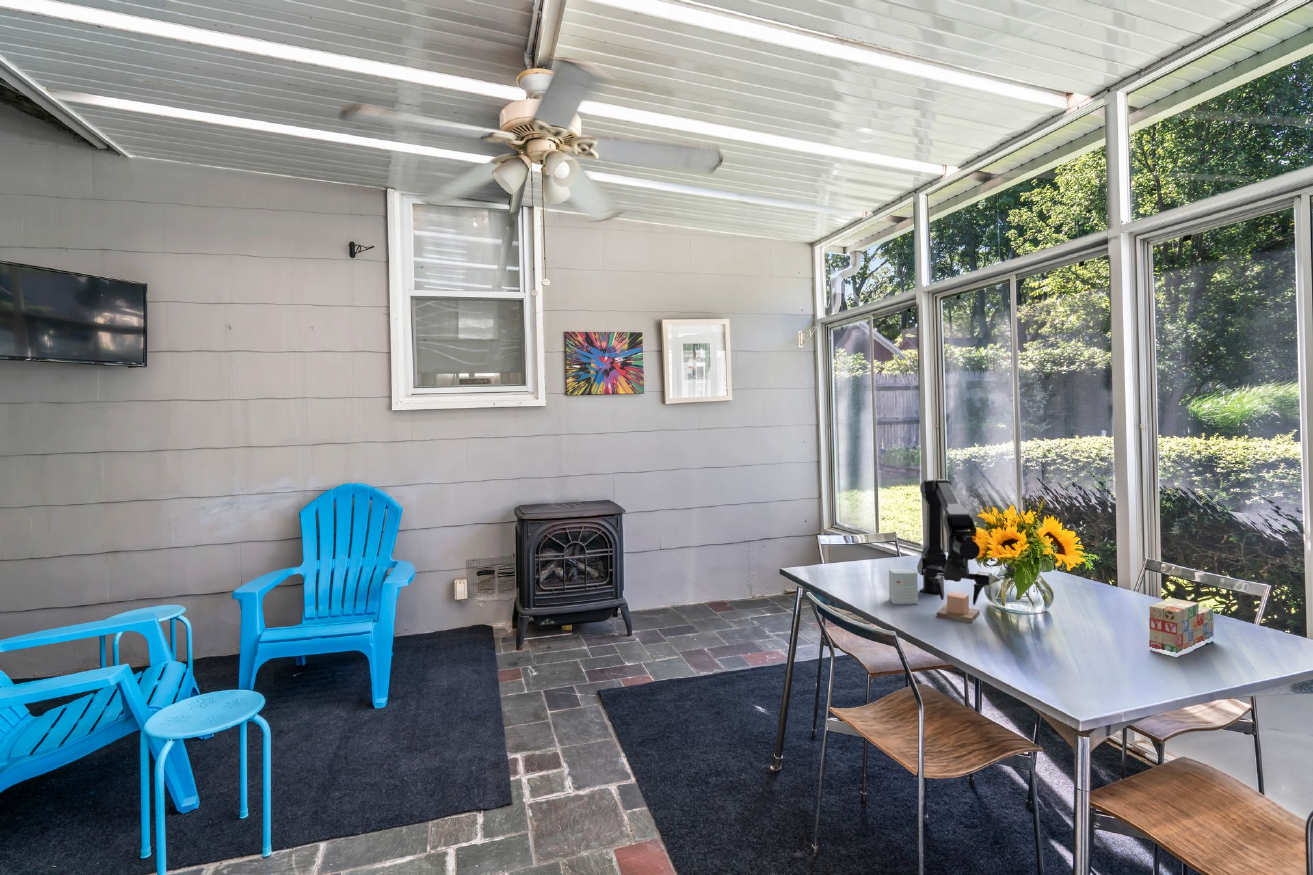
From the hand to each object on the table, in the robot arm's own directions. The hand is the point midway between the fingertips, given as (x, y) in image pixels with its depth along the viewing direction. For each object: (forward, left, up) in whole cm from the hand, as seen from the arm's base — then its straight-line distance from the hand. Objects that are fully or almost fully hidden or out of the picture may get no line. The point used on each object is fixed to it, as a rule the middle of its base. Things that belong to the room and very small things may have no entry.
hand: (958, 602), depth 202 cm
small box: (-5, -18, -4) cm, 20 cm away
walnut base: (0, 0, -5) cm, 5 cm away
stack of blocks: (-6, +54, -5) cm, 55 cm away
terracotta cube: (0, 0, -3) cm, 3 cm away
